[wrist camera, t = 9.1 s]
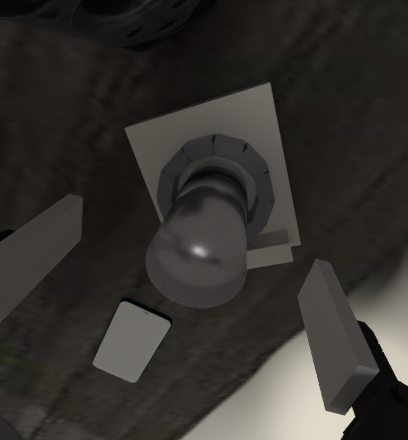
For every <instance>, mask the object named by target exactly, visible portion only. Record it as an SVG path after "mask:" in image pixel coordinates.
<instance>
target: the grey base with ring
mask: <svg viewBox="0 0 408 440" xmlns="http://www.w3.org/2000/svg"><path fill="white" fill-rule="evenodd" d="M125 131H126V133H127V136H128V139H129V141H130V144H131V146H132V149H133V151H134V154H135V157H136V159H137V162H138V164H139V167H140V169H141V172H142V175H143V177H144V180H145V182H146V185H147V188H148V190H149V193H150V195H151V198H152V200H153V203H154V206H155V208H156V211H157V213H158V216H159V219H160V221H161V224H162V222H163V221H164V219H165V217H166V215H167V214H168V212H169V210H170V208H171V207H172V205H173V203H174V202H175V200H176V198H177V196H178V193H179V192H180V190H181V188H182V186H183V185H184V183H185V181H186V180H187V178H188V177H189V176H190V174H191V172H192V171H193V170H194V169H195V167H197V166H198V165H199V164H201V163H202V162H205V161H207V160H212V159H221V160H225V161H228V162H230V163H232V164H234V165H235V166H237V167H238V168H239V169H240V170H241V172H242V173H243V175H244V177H245V179H246V183H247V195H248V214H247V269H251V268H257V267H263V266H269V265H275V264H281V263H286V262H292V261H293V257H292V252H291V247H292V246H297V245H301V242H300V237H299V232H298V227H297V221H296V216H295V211H294V206H293V200H292V195H291V190H290V185H289V179H288V174H287V169H286V164H285V159H284V153H283V148H282V143H281V138H280V132H279V127H278V122H277V117H276V111H275V106H274V101H273V96H272V90H271V85H270V82H266V81H265V82H262V83H259V84H256V85H252V86H249V87H246V88H243V89H240V90H237V91H233V92H230V93H227V94H224V95H221V96H218V97H214V98H211V99H208V100H205V101H202V102H199V103H195V104H192V105H189V106H186V107H183V108H180V109H176V110H173V111H170V112H167V113H164V114H161V115H157V116H154V117H151V118H148V119H145V120H143V121H140V122H138V123H136V124H133V125H131V126H128V127H126V128H125Z"/></svg>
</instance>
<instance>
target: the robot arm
mask: <svg viewBox="0 0 408 440" xmlns="http://www.w3.org/2000/svg"><path fill="white" fill-rule="evenodd" d="M82 207H83V197H80V196H76V195H72V194H68V195H67V196H66V197H64V198H63V199H61V200H60V201H58V202H57V203H55V204H54V205H53V206H51V207H50V208H48V209H47V210H45V211H44V212H43V213H41V214H40V215H38V216H37V217H35V218H34V219H32V220H31V221H30V222H28V223H27V224H25V225H24V226H22V227H21V228H20V229H18V230H17V231H13V230H9V229H8V230H5V231H2V232H0V322H1V321H2V320H3V319H4V318H5V317H6V316H7V315H8V314H9V313H10V312H11V311H12V310H13V309H14V308H15V307H16V306H17V305H18V304H19V303H20V302H21V301H22V300H23V299H24V298H25V297H26V296H27V295H28V294H29V292H30V291H31V290H32V289H33V288H34V287H35V286H36V285H37V284H38V283H39V282H40V281H41V280H42V279H43V278H44V277H45V276H46V275H47V274H48V273H49V272H50V271H51V270H52V269H53V268H54V267H55V266H56V265H57V264H58V263H59V262H60V261H61V260H62V259H63V257H64V256H65V255H66V254H67V253H68V252H69V251H70V250H71V249H72V248H73V247H74V246H75V245H76V244H77V243H78V242H79V241H80V240H81V228H82ZM297 297H298V301H299V305H300V309H301V313H302V317H303V321H304V325H305V329H306V333H307V337H308V341H309V345H310V349H311V353H312V358H313V362H314V366H315V370H316V374H317V378H318V382H319V386H320V390H321V394H322V398H323V402H324V406H325V410H326V411H329V412H333V413H337V414H341V415H345V414H346V413H347V412H348V410H349V409H350V408H351V407H352V408H353V411H354V414H355V418H354V419H353V421H352V422H351V423H350V424H349V425H348V427H347V428H346V429H345V431H344V432H343V434H344V435H343V437H342V438H341V440H408V386H407V385H405V384H403V383H402V382H400V381H398V380H397V378H396V376H395V374H394V372H393V370H392V368H391V366H390V364H389V362H388V360H387V358H386V356H385V354H384V352H382V348H381V346H380V344H378V340H377V338H376V336H375V334H374V332H373V331H372V330H371V329H370V328H369V327H368V326H367V325H366V323H365V322H361V321H358V320H356V318H355V316H354V314H353V312H352V309H351V307H350V305H349V303H348V301H347V299H346V296H345V294H344V292H343V290H342V288H341V286H340V283H339V281H338V279H337V277H336V275H335V273H334V270H333V268H332V266H331V264H330V262H327V261H323V260H319V259H316V260H315V262H314V264H313V266H312V268H311V270H310V272H309V274H308V276H307V278H306V280H305V282H304V284H303V286H302V288H301V290H300V292H299V294H298V296H297Z"/></svg>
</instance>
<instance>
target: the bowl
mask: <svg viewBox="0 0 408 440" xmlns="http://www.w3.org/2000/svg"><path fill="white" fill-rule="evenodd" d="M0 440H20V437H19V435H18V433H17V432H16V431H15V430H14V428H13V427H11V426H10V425H9V424H8V423H7V422H5V421H4V420H2V419H0Z"/></svg>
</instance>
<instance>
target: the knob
mask: <svg viewBox="0 0 408 440" xmlns="http://www.w3.org/2000/svg"><path fill="white" fill-rule="evenodd" d="M247 214H248V195H247V183H246V179H245V177H244V175H243V173H242V172H241V170H240V169H239V168H238V167H237V166H235V165H234V164H232V163H230V162H228V161H225V160H221V159H212V160H207V161H205V162H202V163H201V164H199V165H198V166H197V167H195V169H194V170H193V171H192V172H191V174H190V176H189V177H188V178H187V180H186V181H185V183H184V185H183V186H182V188H181V190H180V192H179V193H178V196H177V198H176V200H175V202H174V203H173V205H172V207H171V208H170V210H169V212H168V214H167V215H166V217H165V219H164V221H163V222H162V224H161V226H160V227H159V229H158V231H157V233H156V234H155V236H154V238H153V239H152V241H151V243H150V245H149V247H148V249H147V253H146V269H147V273H148V276H149V278H150V280H151V282H152V283H153V285H154V286H155V287H156V288H157V289H158V291H159V292H161V293H162V294H163V295H164V296H165V297H167V298H168V299H170V300H172V301H173V302H176V303H178V304H180V305H183V306H187V307H192V308H210V307H215V306H219V305H221V304H224V303H226V302H228V301H229V300H231V299H232V298H233V297H235V296H236V295H237V294H238V292H239V291H240V290H241V288H242V287H243V285H244V282H245V279H246V274H247Z"/></svg>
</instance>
